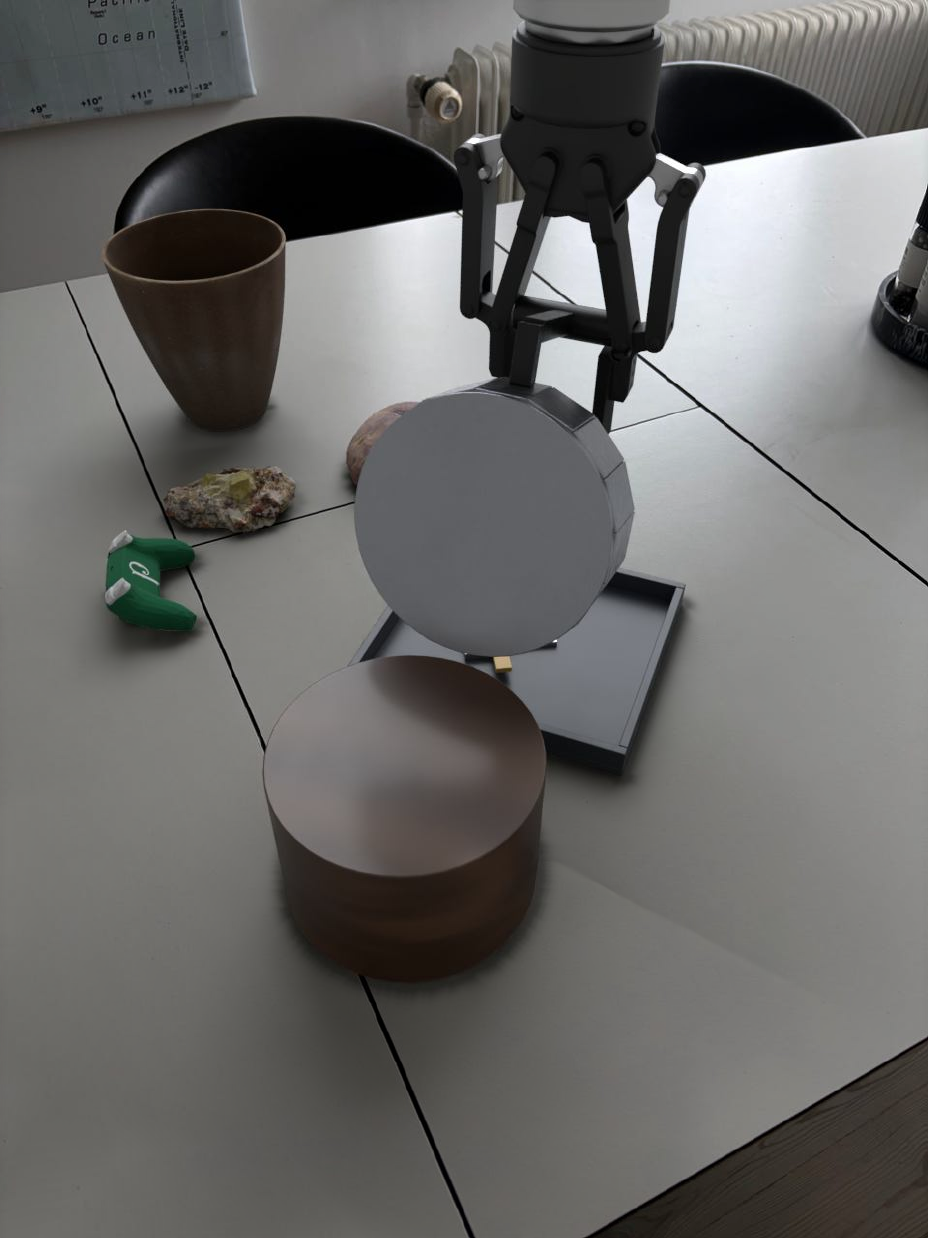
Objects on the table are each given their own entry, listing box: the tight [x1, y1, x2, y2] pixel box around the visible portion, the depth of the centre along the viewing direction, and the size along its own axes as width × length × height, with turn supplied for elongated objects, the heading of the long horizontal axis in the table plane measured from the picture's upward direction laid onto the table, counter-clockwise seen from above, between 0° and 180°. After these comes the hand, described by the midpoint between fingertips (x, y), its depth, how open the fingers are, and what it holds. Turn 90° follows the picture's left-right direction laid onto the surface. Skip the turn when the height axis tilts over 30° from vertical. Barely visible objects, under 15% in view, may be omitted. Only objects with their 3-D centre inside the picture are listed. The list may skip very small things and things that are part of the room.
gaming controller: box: [104, 529, 198, 632], centre depth 74 cm, size 9×4×6 cm
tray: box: [347, 567, 687, 776], centre depth 70 cm, size 17×19×2 cm
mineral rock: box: [163, 465, 297, 534], centre depth 82 cm, size 11×4×8 cm
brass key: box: [493, 656, 512, 673], centre depth 70 cm, size 7×3×1 cm, turn 7°
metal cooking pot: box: [353, 295, 636, 657], centre depth 58 cm, size 18×14×13 cm
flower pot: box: [101, 208, 287, 432], centre depth 89 cm, size 15×15×16 cm
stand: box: [261, 655, 548, 984], centre depth 54 cm, size 14×14×10 cm
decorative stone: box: [345, 401, 421, 487], centre depth 85 cm, size 12×12×6 cm
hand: (555, 429), depth 65 cm, fingers open, 5 cm apart
